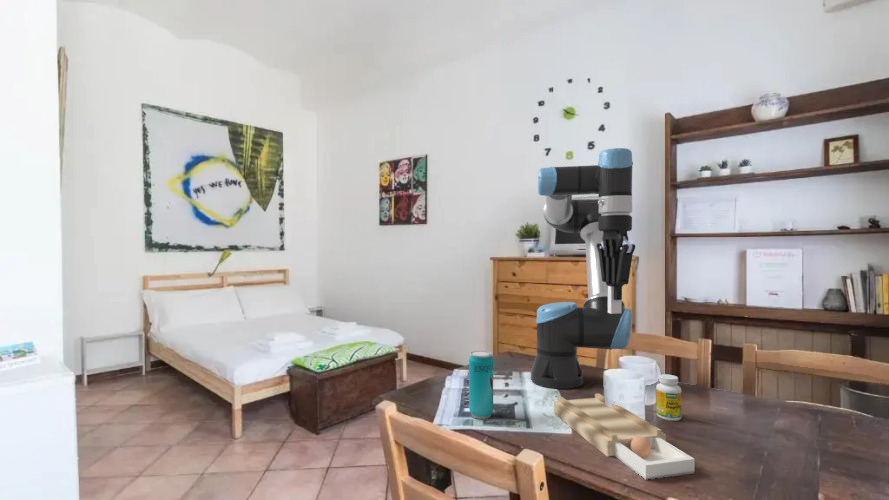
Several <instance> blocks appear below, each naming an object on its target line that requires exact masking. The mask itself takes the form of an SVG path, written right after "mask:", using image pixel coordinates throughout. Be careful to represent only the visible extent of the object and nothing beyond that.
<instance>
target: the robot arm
mask: <svg viewBox="0 0 889 500" xmlns="http://www.w3.org/2000/svg"><path fill="white" fill-rule="evenodd" d="M633 165H634V161H633V152H632V151H631V149H629V148H623V147H622V148H621V147H617V148H615V147H614V148H608V149H604V150H602V151H600V152H599V154H598V162H597V165H594V164H593V165H574V166H573V165H571V166H549V167H542V168H539V169H538V171H537V193H538V194H539V195H540V196H545V204H544V206H543V217H544V219H545V221H546V222H547V224H548V225H549V226H551V227H553V228H554V229H556V230H558V231H559V232H563V233H570V234H571V233H572V234H573V233H574V234H576V233H578V234H579V235H580V238H581V239H582V240H583V241H584V242H585V243H584V244H585V258H586V259H585V260H586V263H585V264H586V278H587V281H586V282H587V296H588V298H587V299H586V300H585V301H584V303H583V307H578V305H577V303H576V302H574V301H562V302H553V303H547V304H543V305H540V306H539V307H538V308H537V310H536V320H535V324H536V355H535V358H534V361H533V363H532V364H533V365H532V367H531V371H530V381H531V380H532V381H533V382H532V381H531V382H532V383H534V384H535V383H536V384H535V385H537V384H539V386H540V385H542V386H541V387H544V386H545V387H544V388H549V387H551V388H550V389H560V390H562V389H563V390H564V389H566V390H567V389H568V390H569V389H575V388H578V387H581V386H582V385H583V384H584V375H583V371H582V369H581V365H580V362H579V359H578V356H577V355H578V352H577V349H578V348H581V349H582V348H585V349H586V348H587V349H602V350H624V349H626V348H627V347H628V345H629V343H630V339H631V330H632V323H633V322H632V319H633V318H632V317H633V316H632V310H631V309H630V308H626V307H625V303H624V301H623V300H622V299H623V296H622V295H623V287H624V286H625V285H628V284H629V281H630V280H629V279H630V275H631V267H632V261H633V254H634V252H635V250H636V245H635V243H630V241H629V236H628V232H631V231H632V229H633V216H632V215H631V213H633ZM577 195H578V196H579V195H581V196H582V195H598V199H594V198H591V199H589V198H588V199H585V198H584V199H579V198H578V199H573V198H572V197H573V196H577Z"/></svg>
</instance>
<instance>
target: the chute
mask: <svg viewBox="0 0 889 500" xmlns="http://www.w3.org/2000/svg"><path fill="white" fill-rule="evenodd" d="M604 397H605V396H604V395H602V394H600V393H598V392H595V393H594V397H589V398H588V397H587V398H586V397H585V398H577V399H576V398H575V399H566V398H564V397H563V396H557V400H554V401H553V403H554V404H553V414H554V415H555V416H556V417H557V418H559V419H560V420H561V419H562V420H561V421H562V422H564V423H565V422H566V423H567V424H566V423H565V424H566V425H567V426H569V427H570V428H571V429H573V431H575V432H576V433H577V434H579V435H580V436H581V437H582V438H584V439H585V440H586V441H587V442H588V443H589V444H591V445H592V446H593V447H595V448H596V449H597V450H599V452H601V453H602V454H604V456H606V457H615V456H614V443H615V442H620V443H621V442H623V443H624V441H629V442H628V443H627V445H628V444H629V443H630V444H631V442H630V441H632V440H633V439H634V438H635V437H638V436H640V437H644V438H646V439H647V440H648V441H649V440H655V439H653V438H657V437H660V438H661V439H663V440H664V441H666V442H667V439H666V438H667V437H666V436H667V435H666V433H664V432H663V431H662V429H660V428H659V427H657V426H655V425H654V424H652V423H650V422H648V421H647V420H645V419H643V418H642V417H640V416H638V415H636V414H635V413H633V412H632V411H630V410H628V409H626V408H625V407H623V406H621V405H619V404H618V405H619V406H618V405H614V404H612V407H608V406H606V405H605V400H604ZM648 438H650V439H648ZM651 438H652V439H651ZM650 442H651V441H650ZM652 442H653V441H652ZM623 443H621V444H623ZM625 444H626V442H625ZM630 444H629V445H628V446H630ZM653 445H654V444H653ZM628 446H627V447H628ZM654 446H655V445H654ZM628 448H629V449H630V447H628ZM651 449H654V448H651ZM630 450H631V451H632V449H630Z"/></svg>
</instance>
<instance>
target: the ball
mask: <svg viewBox="0 0 889 500" xmlns="http://www.w3.org/2000/svg"><path fill="white" fill-rule="evenodd" d="M631 449H632V451H633V452H634V453H635V454H636V455H638V456H639V457H646V456H648V455H649V454H650V452H651V444H650V442H649V441H648V440H647V439H646V438H644V437H640V436H638V437H635V438H634V439H633V440H632V441H631Z"/></svg>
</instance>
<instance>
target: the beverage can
mask: <svg viewBox="0 0 889 500" xmlns="http://www.w3.org/2000/svg"><path fill="white" fill-rule="evenodd" d="M468 408H469V411H470V414H471V416H472V418H474V419H475V420H487V419H490V418H491V416H492V414H493V411H494V358H493V353H492V352H491V351H487V350H474V351H471V352H470V356H469V359H468Z"/></svg>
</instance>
